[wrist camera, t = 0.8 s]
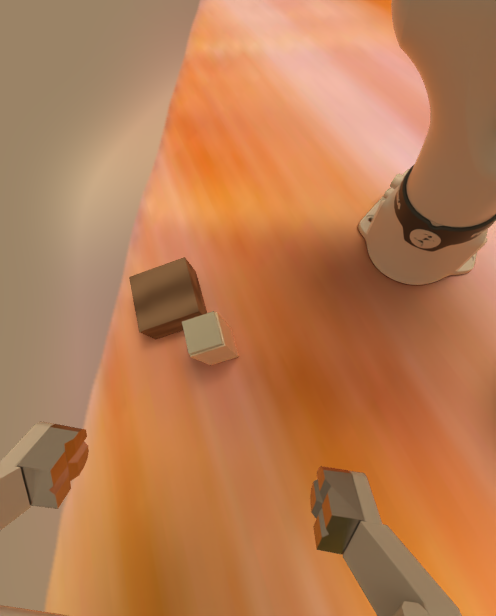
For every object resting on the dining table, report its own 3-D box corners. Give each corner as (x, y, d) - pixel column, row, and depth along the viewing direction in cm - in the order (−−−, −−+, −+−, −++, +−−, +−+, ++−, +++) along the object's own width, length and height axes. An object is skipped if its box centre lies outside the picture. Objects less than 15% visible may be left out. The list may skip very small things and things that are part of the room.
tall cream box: (203, 337, 51) (180, 320, 40) (231, 328, 50) (214, 309, 40) (210, 365, 49) (187, 355, 38) (239, 356, 49) (223, 344, 38)
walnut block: (146, 289, 55) (129, 277, 50) (196, 272, 55) (184, 257, 49) (156, 339, 52) (139, 331, 46) (209, 321, 51) (199, 311, 46)
